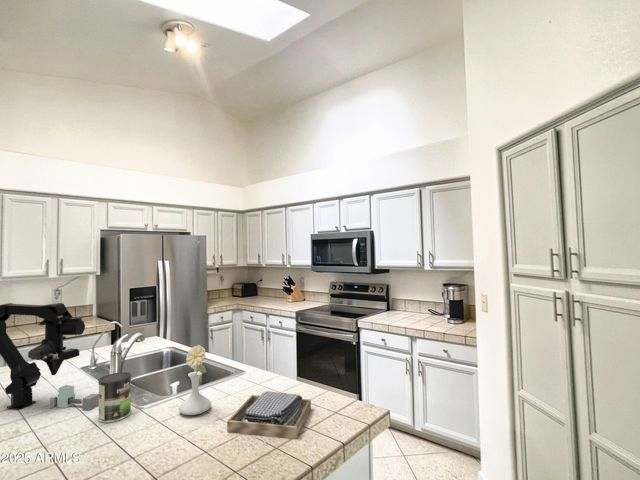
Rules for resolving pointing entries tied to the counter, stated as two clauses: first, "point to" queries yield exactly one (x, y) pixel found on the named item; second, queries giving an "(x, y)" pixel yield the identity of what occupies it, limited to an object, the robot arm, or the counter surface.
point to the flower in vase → (195, 384)
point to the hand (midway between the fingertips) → (53, 374)
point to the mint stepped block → (65, 396)
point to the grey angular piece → (79, 402)
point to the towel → (275, 409)
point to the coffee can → (114, 397)
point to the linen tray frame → (262, 428)
